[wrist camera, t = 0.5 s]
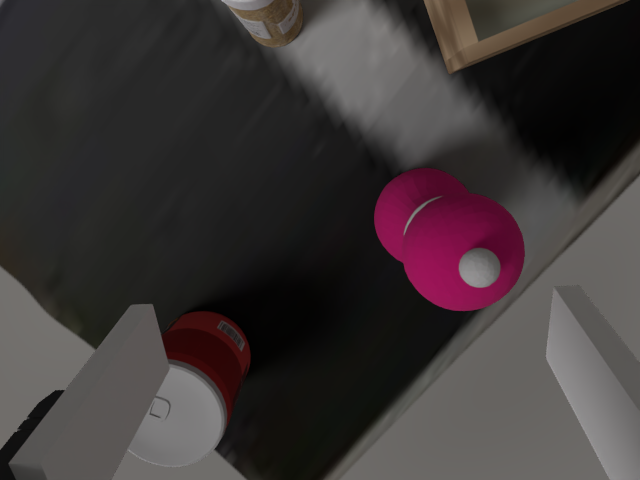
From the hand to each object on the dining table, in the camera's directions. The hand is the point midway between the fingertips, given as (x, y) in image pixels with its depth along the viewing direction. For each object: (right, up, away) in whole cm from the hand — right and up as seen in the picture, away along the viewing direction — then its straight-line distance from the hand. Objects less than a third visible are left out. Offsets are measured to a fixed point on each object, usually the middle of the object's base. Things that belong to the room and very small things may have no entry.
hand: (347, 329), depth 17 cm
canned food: (-11, -7, +28) cm, 30 cm away
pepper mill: (+7, +6, +25) cm, 26 cm away
